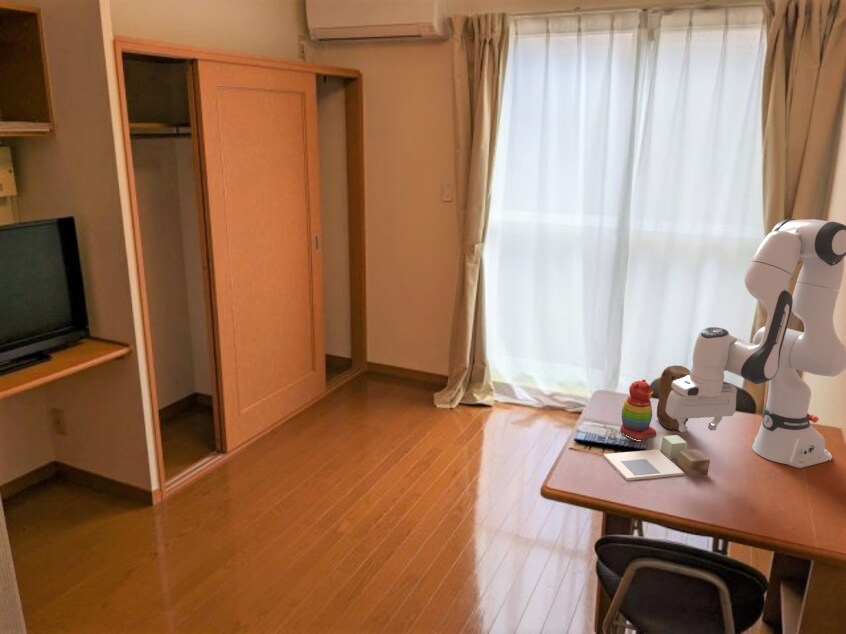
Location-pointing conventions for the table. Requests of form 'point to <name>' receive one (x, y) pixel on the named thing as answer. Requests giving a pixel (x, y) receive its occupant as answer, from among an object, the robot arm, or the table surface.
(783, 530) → the table surface
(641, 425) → the stacking bear
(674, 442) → the sage cube
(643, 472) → the white flat board
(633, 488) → the table surface
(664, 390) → the block
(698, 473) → the walnut cube
